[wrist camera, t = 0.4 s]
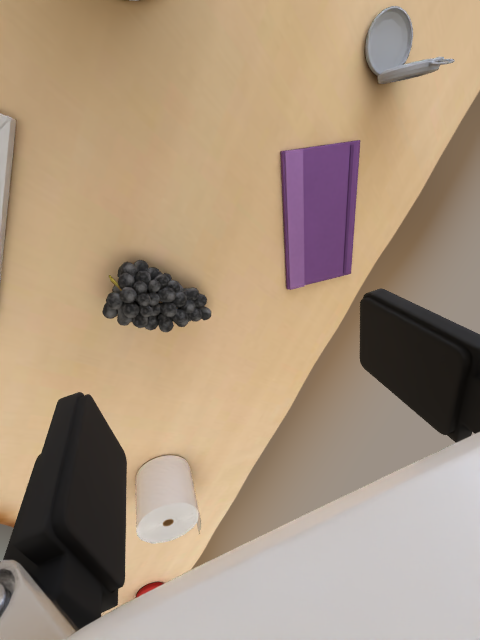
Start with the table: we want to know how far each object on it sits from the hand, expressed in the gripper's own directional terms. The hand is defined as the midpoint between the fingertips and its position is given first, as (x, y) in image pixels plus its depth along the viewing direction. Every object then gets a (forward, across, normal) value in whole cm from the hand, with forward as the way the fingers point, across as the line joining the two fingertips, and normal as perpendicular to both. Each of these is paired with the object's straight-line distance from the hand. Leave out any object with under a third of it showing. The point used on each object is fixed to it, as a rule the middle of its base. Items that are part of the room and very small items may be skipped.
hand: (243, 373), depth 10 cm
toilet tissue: (+36, +14, +47) cm, 61 cm away
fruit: (+35, +3, +10) cm, 37 cm away
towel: (+35, -23, +6) cm, 42 cm away
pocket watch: (+34, -34, -13) cm, 50 cm away
